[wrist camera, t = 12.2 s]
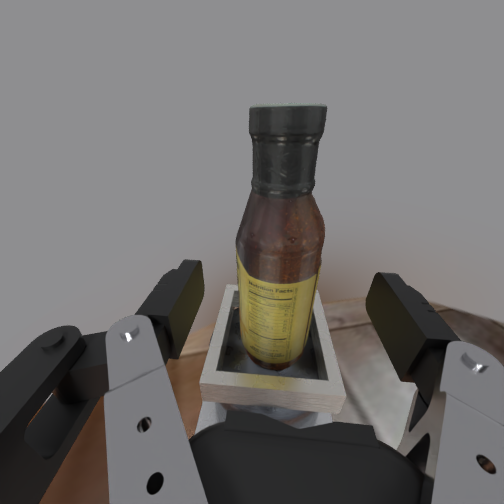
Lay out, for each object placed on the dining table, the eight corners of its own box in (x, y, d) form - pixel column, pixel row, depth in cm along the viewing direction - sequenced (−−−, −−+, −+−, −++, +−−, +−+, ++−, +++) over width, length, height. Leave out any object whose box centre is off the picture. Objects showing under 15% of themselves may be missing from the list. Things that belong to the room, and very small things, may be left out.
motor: (316, 355, 32) (332, 289, 26) (337, 468, 21) (373, 402, 15) (218, 347, 33) (212, 282, 27) (193, 452, 22) (174, 384, 16)
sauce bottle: (265, 312, 26) (276, 108, 16) (315, 341, 23) (370, 105, 13) (225, 350, 22) (205, 102, 11) (280, 394, 18) (320, 96, 8)
